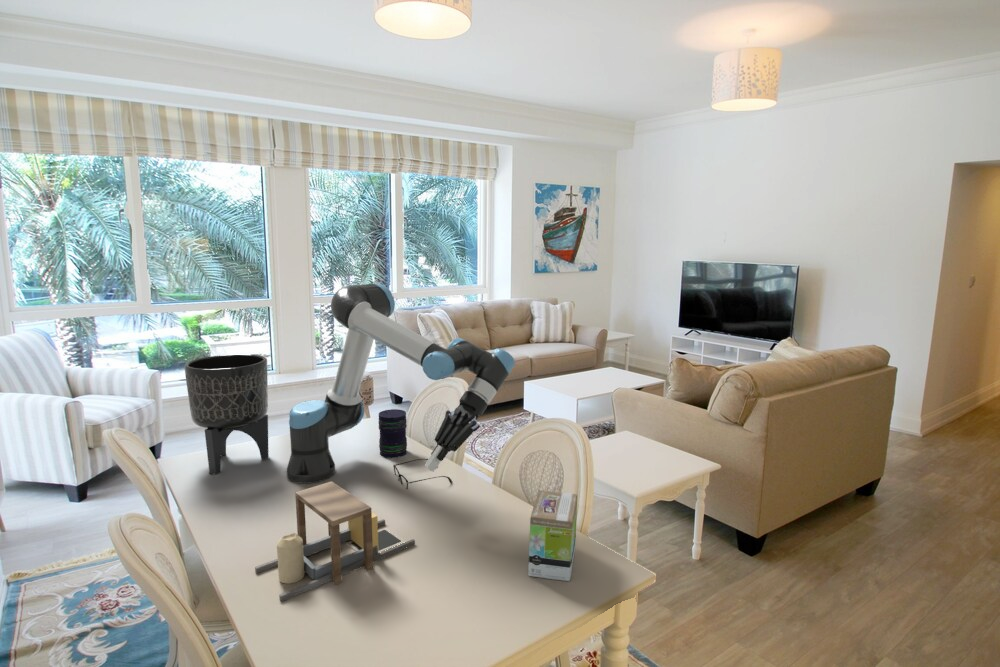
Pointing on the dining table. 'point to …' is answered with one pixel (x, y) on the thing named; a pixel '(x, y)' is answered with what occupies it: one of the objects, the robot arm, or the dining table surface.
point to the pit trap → (381, 541)
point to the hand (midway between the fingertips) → (428, 468)
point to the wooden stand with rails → (335, 531)
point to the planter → (229, 401)
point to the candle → (290, 558)
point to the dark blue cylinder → (392, 433)
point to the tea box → (552, 535)
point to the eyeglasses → (413, 481)
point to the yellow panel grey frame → (351, 533)
